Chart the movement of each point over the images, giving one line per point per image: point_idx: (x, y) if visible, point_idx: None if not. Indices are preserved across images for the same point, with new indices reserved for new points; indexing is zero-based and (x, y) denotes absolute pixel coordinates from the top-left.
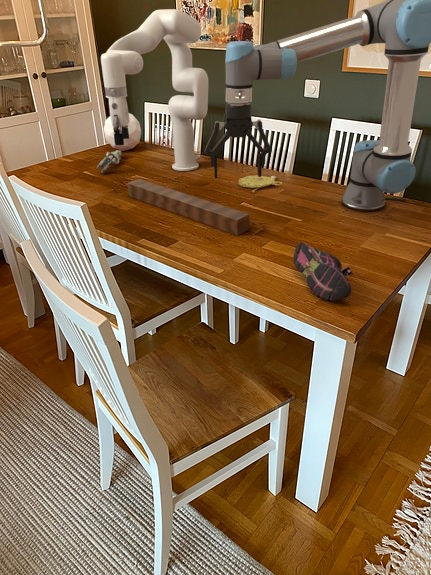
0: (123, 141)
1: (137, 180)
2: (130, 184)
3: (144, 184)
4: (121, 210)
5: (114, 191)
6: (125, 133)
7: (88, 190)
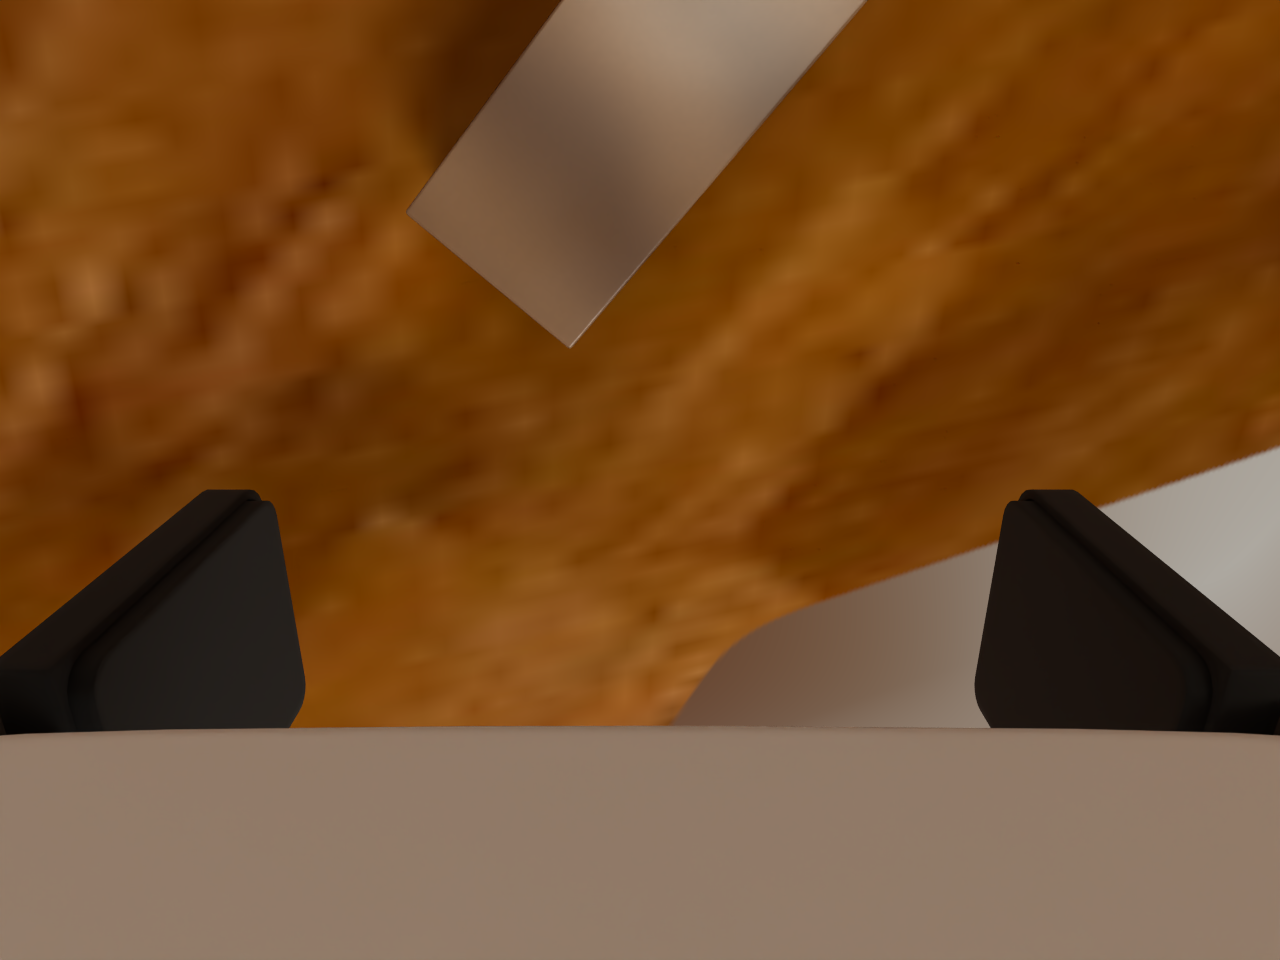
0: (1112, 523)
1: (469, 227)
2: (613, 297)
3: (637, 92)
4: (966, 315)
5: (434, 493)
6: (212, 645)
7: (418, 724)
